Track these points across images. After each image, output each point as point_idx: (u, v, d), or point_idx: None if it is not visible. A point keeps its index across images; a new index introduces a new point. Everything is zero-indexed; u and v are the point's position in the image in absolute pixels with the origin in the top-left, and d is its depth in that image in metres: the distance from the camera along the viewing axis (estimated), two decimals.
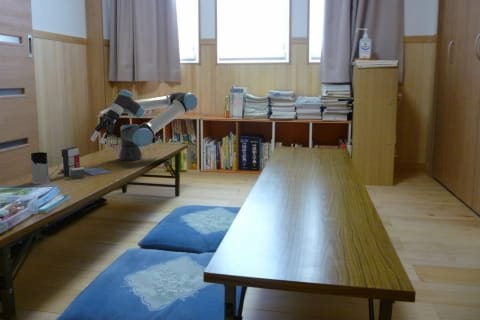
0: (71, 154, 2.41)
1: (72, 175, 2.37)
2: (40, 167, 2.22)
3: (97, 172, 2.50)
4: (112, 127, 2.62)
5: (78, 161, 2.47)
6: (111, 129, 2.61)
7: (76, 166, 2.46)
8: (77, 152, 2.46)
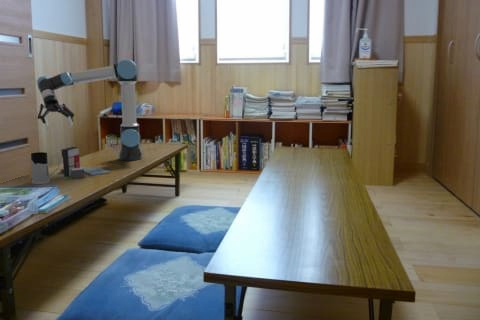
0: (71, 154, 2.41)
1: (72, 175, 2.37)
2: (40, 167, 2.22)
3: (97, 172, 2.50)
4: (39, 112, 2.50)
5: (78, 161, 2.47)
6: (38, 114, 2.49)
7: (76, 166, 2.46)
8: (77, 152, 2.46)
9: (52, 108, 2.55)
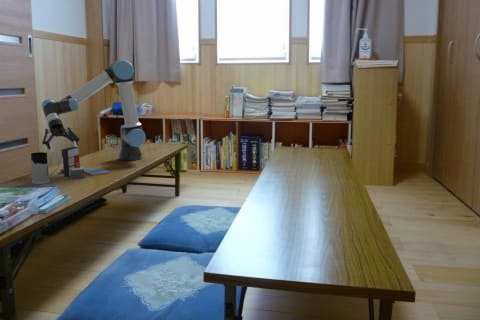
0: (71, 154, 2.41)
1: (72, 175, 2.37)
2: (40, 167, 2.22)
3: (97, 172, 2.50)
4: None
5: (78, 161, 2.47)
6: (43, 139, 2.44)
7: (76, 166, 2.46)
8: (77, 152, 2.46)
9: (57, 133, 2.50)
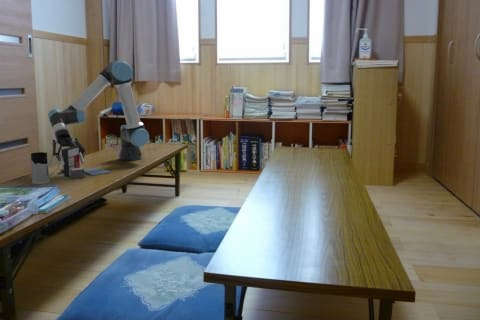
0: (71, 154, 2.41)
1: (72, 175, 2.37)
2: (40, 167, 2.22)
3: (97, 172, 2.50)
4: (53, 149, 2.41)
5: (78, 161, 2.47)
6: None
7: (76, 166, 2.46)
8: (77, 152, 2.46)
9: (64, 143, 2.46)
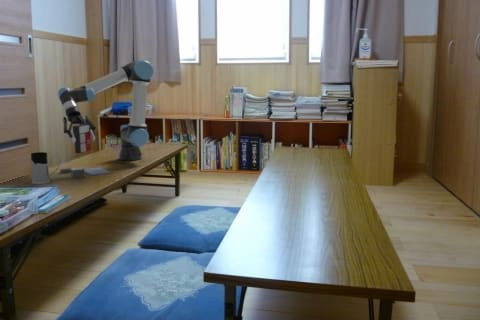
0: (82, 131, 2.43)
1: (72, 175, 2.37)
2: (40, 167, 2.22)
3: (97, 172, 2.50)
4: (64, 126, 2.43)
5: (89, 138, 2.50)
6: (64, 128, 2.43)
7: (87, 143, 2.48)
8: (88, 129, 2.48)
9: (75, 120, 2.48)
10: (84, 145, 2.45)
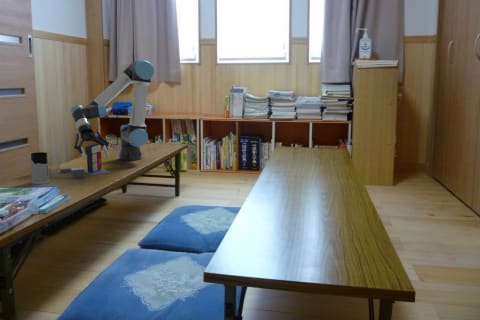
0: (94, 151, 2.49)
1: (72, 175, 2.37)
2: (40, 167, 2.22)
3: (97, 172, 2.50)
4: (75, 142, 2.50)
5: (100, 157, 2.56)
6: None
7: (98, 162, 2.54)
8: (99, 149, 2.55)
9: (87, 137, 2.55)
10: (96, 165, 2.51)
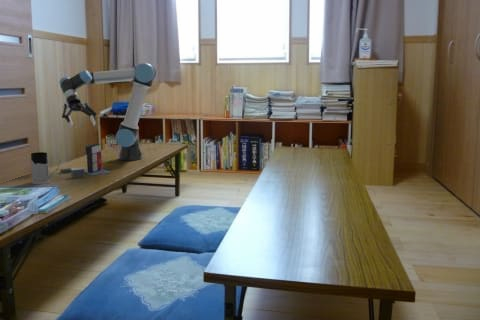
0: (94, 151, 2.49)
1: (72, 175, 2.37)
2: (40, 167, 2.22)
3: (97, 172, 2.50)
4: (63, 111, 2.59)
5: (100, 157, 2.56)
6: None
7: (98, 162, 2.54)
8: (99, 149, 2.55)
9: (75, 107, 2.64)
10: (96, 165, 2.51)
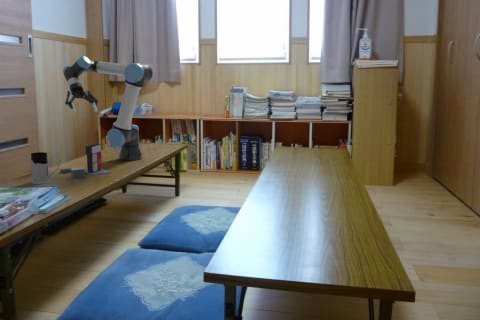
0: (94, 151, 2.49)
1: (72, 175, 2.37)
2: (40, 167, 2.22)
3: (97, 172, 2.50)
4: None
5: (100, 157, 2.56)
6: None
7: (98, 162, 2.54)
8: (99, 149, 2.55)
9: (78, 95, 2.74)
10: (96, 165, 2.51)
